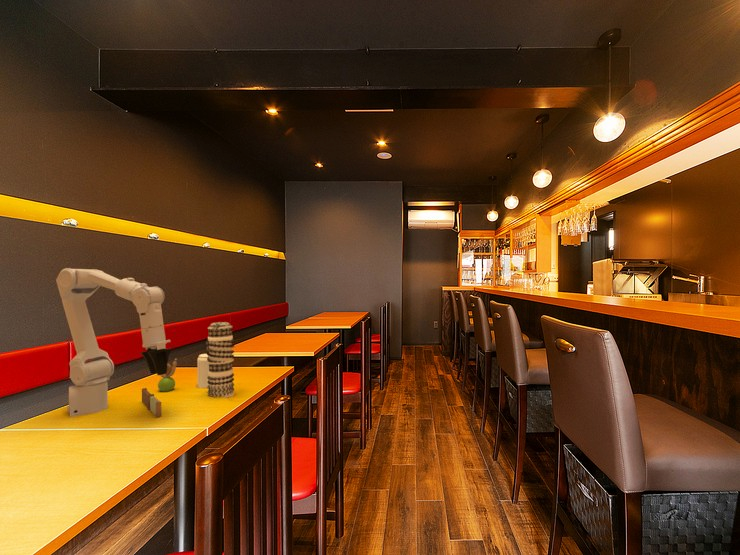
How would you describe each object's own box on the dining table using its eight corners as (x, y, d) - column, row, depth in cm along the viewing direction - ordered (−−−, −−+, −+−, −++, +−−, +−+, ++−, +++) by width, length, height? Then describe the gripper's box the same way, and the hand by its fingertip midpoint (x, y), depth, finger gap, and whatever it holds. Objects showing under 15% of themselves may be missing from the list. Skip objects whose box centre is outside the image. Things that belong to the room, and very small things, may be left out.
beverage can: (192, 389, 132) (192, 356, 132) (208, 383, 140) (208, 352, 140) (210, 390, 130) (210, 357, 130) (225, 384, 138) (225, 353, 138)
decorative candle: (210, 401, 118) (210, 325, 118) (203, 395, 125) (202, 322, 125) (239, 395, 123) (238, 322, 124) (229, 389, 130) (229, 320, 131)
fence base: (148, 410, 109) (148, 395, 109) (141, 402, 116) (141, 388, 116) (154, 409, 110) (154, 394, 110) (146, 401, 118) (146, 387, 118)
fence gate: (149, 410, 108) (149, 396, 108) (154, 409, 109) (154, 395, 109) (156, 417, 102) (156, 403, 102) (162, 416, 103) (161, 402, 103)
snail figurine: (172, 394, 126) (172, 360, 126) (154, 394, 126) (154, 360, 127) (181, 389, 132) (180, 356, 132) (163, 389, 132) (163, 357, 132)
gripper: (174, 324, 103) (180, 371, 102) (161, 326, 114) (167, 369, 113) (146, 328, 98) (152, 378, 98) (135, 330, 109) (141, 375, 108)
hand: (158, 373), depth 105 cm, fingers open, 7 cm apart
